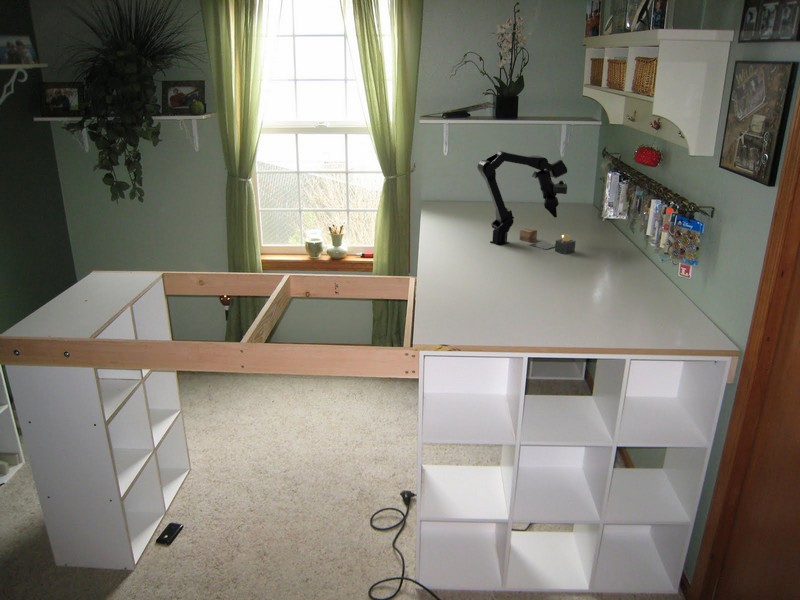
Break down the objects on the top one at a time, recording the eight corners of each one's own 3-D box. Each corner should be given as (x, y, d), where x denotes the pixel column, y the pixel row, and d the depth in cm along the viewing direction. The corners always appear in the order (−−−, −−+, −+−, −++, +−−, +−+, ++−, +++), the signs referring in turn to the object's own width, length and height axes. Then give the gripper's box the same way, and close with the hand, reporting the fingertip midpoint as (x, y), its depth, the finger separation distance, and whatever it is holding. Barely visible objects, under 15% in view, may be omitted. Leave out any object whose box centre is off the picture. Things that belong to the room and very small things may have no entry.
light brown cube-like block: (528, 242, 298) (529, 231, 296) (519, 239, 302) (520, 229, 300) (536, 240, 301) (537, 230, 300) (527, 237, 305) (528, 227, 304)
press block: (565, 254, 280) (567, 243, 279) (554, 251, 285) (555, 240, 283) (574, 251, 284) (575, 240, 282) (563, 248, 288) (564, 238, 286)
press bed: (545, 249, 287) (545, 249, 287) (529, 245, 293) (529, 244, 293) (558, 246, 292) (558, 245, 292) (542, 242, 299) (542, 241, 298)
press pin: (565, 247, 281) (567, 236, 279) (559, 245, 284) (560, 234, 282) (571, 246, 283) (572, 235, 281) (564, 244, 286) (565, 233, 284)
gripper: (565, 184, 281) (574, 215, 288) (561, 170, 297) (570, 200, 304) (540, 192, 285) (549, 223, 291) (538, 178, 301) (547, 208, 307)
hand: (555, 213), depth 298 cm, fingers open, 9 cm apart
